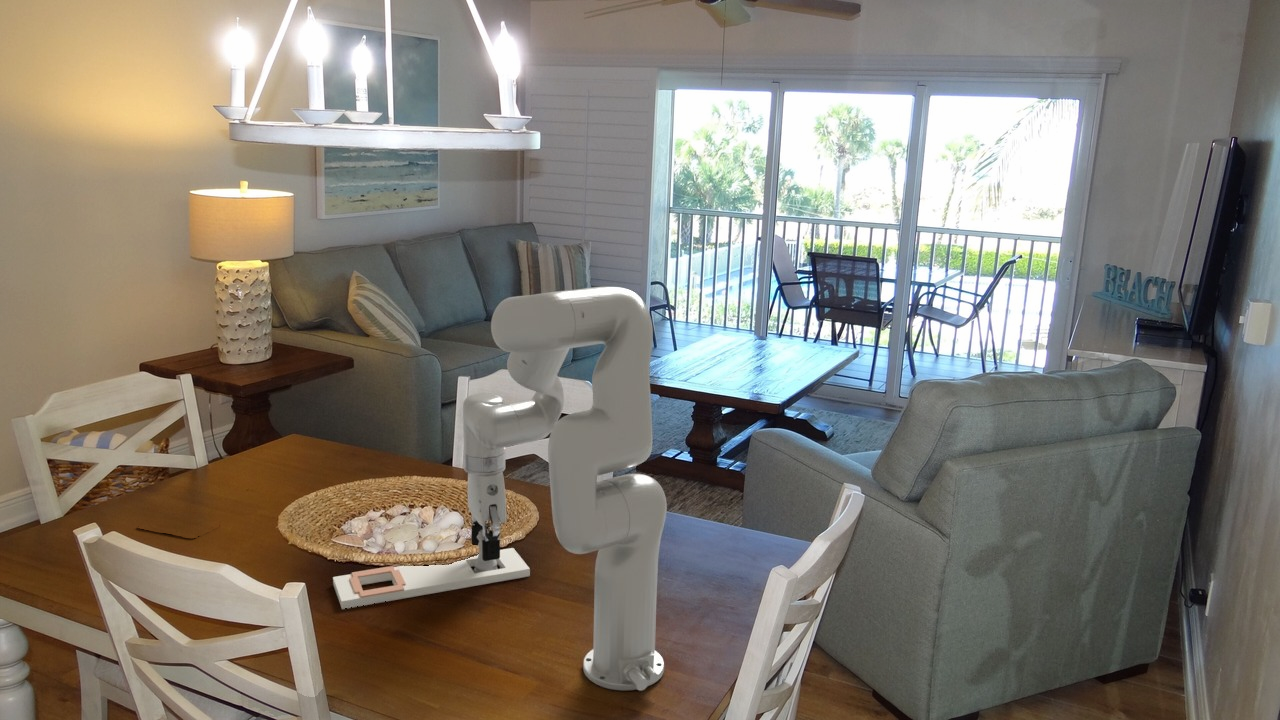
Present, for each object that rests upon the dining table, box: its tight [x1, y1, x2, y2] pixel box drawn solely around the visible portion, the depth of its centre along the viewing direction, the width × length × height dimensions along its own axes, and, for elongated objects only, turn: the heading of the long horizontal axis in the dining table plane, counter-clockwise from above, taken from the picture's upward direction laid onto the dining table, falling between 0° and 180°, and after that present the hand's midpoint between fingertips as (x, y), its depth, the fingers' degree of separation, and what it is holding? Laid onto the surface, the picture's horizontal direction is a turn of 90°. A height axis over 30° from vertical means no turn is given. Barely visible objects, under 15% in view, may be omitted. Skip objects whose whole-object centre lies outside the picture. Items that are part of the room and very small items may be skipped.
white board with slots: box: [332, 547, 531, 610], centre depth 179 cm, size 10×34×2 cm, turn 115°
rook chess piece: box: [473, 529, 499, 573], centre depth 182 cm, size 4×4×8 cm
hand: (485, 550), depth 182 cm, fingers open, 6 cm apart
